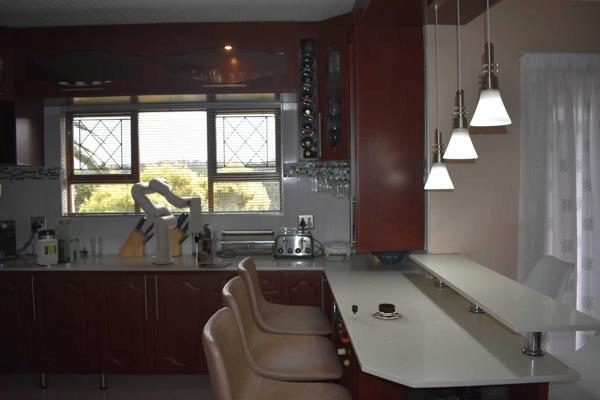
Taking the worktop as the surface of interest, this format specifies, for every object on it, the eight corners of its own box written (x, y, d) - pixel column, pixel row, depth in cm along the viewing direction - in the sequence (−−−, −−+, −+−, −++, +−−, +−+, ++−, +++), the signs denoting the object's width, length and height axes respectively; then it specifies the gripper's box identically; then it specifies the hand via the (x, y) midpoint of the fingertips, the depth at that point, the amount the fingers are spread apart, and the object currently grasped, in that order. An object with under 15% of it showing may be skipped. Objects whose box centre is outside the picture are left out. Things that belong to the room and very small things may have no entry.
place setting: (400, 324, 191) (400, 309, 191) (350, 321, 196) (350, 306, 196) (401, 311, 208) (401, 298, 208) (355, 309, 213) (355, 296, 213)
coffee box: (213, 263, 320) (214, 239, 319) (210, 264, 313) (212, 240, 312) (200, 261, 321) (201, 238, 320) (197, 263, 314) (198, 239, 313)
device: (55, 260, 337) (54, 218, 335) (65, 259, 344) (64, 217, 342) (70, 262, 329) (68, 219, 327) (80, 260, 335) (78, 218, 334)
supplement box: (43, 266, 317) (42, 241, 316) (37, 264, 323) (36, 240, 322) (58, 264, 325) (57, 239, 324) (51, 262, 330) (50, 238, 329)
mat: (203, 267, 308) (203, 266, 307) (215, 262, 324) (215, 261, 324) (221, 268, 304) (221, 267, 304) (232, 263, 321) (232, 262, 321)
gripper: (183, 216, 315) (184, 243, 316) (203, 215, 311) (205, 243, 312) (188, 215, 322) (190, 242, 323) (208, 214, 318) (210, 241, 319)
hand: (197, 242), depth 318 cm, fingers closed
